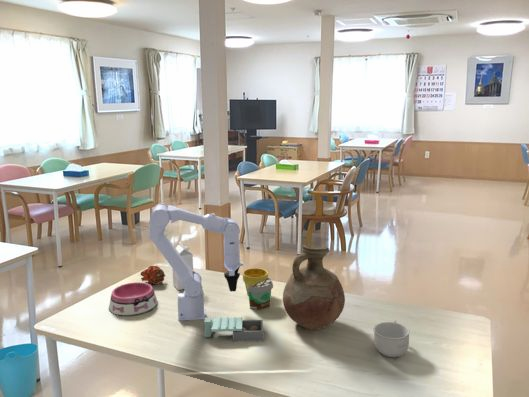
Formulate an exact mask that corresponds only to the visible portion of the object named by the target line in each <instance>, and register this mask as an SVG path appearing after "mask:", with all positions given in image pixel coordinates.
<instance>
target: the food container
mask: <svg viewBox="0 0 529 397" xmlns="http://www.w3.org/2000/svg"><path fill="white" fill-rule="evenodd" d="M273 288H274V283H273V280H272V278H269V276H268V277H266V280H264V281H262V282H258V283H257V284H255V285H254V286H252V287H250V286H248V290H247V291H246V293H247V292H249V296H248V301H249V309H251V310H265V309H269V308H270V306H271V296H272V289H273Z"/></svg>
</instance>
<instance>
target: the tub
mask: <svg viewBox="0 0 529 397" xmlns="http://www.w3.org/2000/svg"><path fill="white" fill-rule="evenodd" d="M251 326H257V327H258V331H250V327H251ZM242 327H244V328H245V329H246V331H232V342H233V343H235V342H264V322H263V319H248V320H247V319H242Z"/></svg>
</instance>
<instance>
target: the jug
mask: <svg viewBox="0 0 529 397" xmlns="http://www.w3.org/2000/svg"><path fill="white" fill-rule="evenodd" d="M301 251H302V253H299V254H297V255H296V257H295V258H294V260H293V263H292V268H291V269H292V274H291V275H290V276H289V278H288V280H287V281H286V284H285V286H284V287H283V288H284V289H283V292H282V305H283V307H284V310H285V312H286V314H287V316H288V317H289V318H290V319H291V320H292V322H294V323H296V324H298V325H300V327H301V328H303V329H305V330H311V331H319V330H320V329H324V328H326V327H329V326H330V325H332V324H333V323H334V322H335V321H337V319H338V318H339V317H340V316H341V314H342V312H344V311H343V310H344V308H345V301H346V297H345V292H344V288H343V285H342V282H341V281H340V280H339V277H338V276H337V275H336V273H334V272H332V271H330V270H328V269H327V268H325V267H324V263H323V259H324V258H325V257H326V256H327V254H328V253H329V252H330V249H329V247H328V246H327V247H325V248H316V247H310V246H309V245H304V244H302V245H301ZM306 260H307V262H306V263H307V264H306V266H305V267H301V264H302V263H303V262H304V261H306Z"/></svg>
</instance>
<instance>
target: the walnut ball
mask: <svg viewBox="0 0 529 397" xmlns="http://www.w3.org/2000/svg"><path fill="white" fill-rule="evenodd" d="M250 331H258V327H257V326H251V327H250Z"/></svg>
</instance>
